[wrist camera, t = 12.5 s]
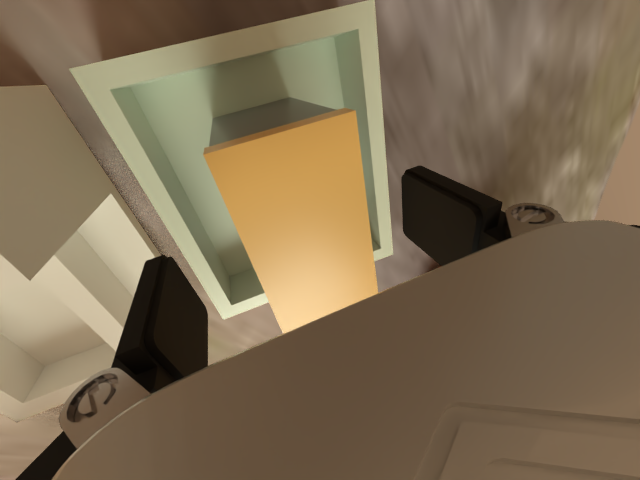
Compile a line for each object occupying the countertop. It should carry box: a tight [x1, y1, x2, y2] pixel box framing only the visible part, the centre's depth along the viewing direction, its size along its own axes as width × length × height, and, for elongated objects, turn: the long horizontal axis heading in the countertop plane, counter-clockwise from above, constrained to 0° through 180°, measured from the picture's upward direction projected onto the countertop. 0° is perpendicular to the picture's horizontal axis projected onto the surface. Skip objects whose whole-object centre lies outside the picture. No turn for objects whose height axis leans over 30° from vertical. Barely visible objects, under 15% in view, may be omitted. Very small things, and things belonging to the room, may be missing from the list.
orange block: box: [203, 97, 378, 334], centre depth 16 cm, size 9×5×10 cm, turn 13°
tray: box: [69, 0, 393, 320], centre depth 19 cm, size 16×14×4 cm
